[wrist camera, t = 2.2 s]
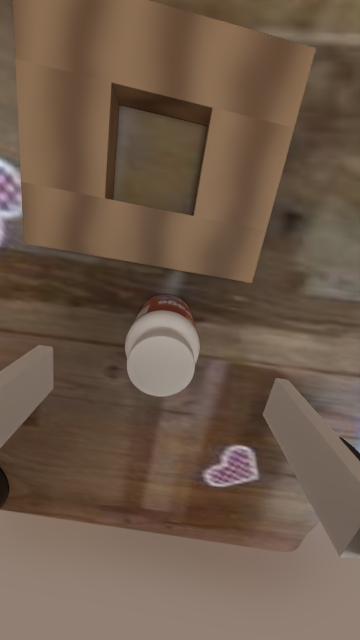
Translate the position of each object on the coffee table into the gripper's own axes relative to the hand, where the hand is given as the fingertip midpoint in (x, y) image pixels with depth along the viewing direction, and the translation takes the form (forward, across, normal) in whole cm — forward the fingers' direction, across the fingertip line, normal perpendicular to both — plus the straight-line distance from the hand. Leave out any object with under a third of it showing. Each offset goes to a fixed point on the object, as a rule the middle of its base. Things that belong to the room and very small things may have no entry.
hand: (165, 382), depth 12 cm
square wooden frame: (+13, -4, +15) cm, 20 cm away
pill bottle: (+13, 0, 0) cm, 13 cm away
